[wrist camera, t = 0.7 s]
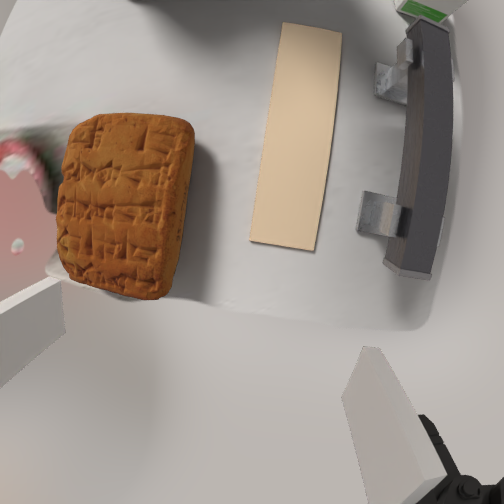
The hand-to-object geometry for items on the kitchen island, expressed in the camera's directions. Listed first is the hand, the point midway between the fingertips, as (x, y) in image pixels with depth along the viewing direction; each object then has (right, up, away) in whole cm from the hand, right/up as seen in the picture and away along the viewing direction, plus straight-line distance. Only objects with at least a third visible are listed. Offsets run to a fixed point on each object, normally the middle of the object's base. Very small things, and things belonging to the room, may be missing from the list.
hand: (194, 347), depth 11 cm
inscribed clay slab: (-13, +11, +25) cm, 31 cm away
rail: (+19, +15, +14) cm, 28 cm away
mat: (+8, +19, +22) cm, 30 cm away
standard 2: (+21, +26, +19) cm, 39 cm away
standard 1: (+19, +8, +23) cm, 31 cm away
